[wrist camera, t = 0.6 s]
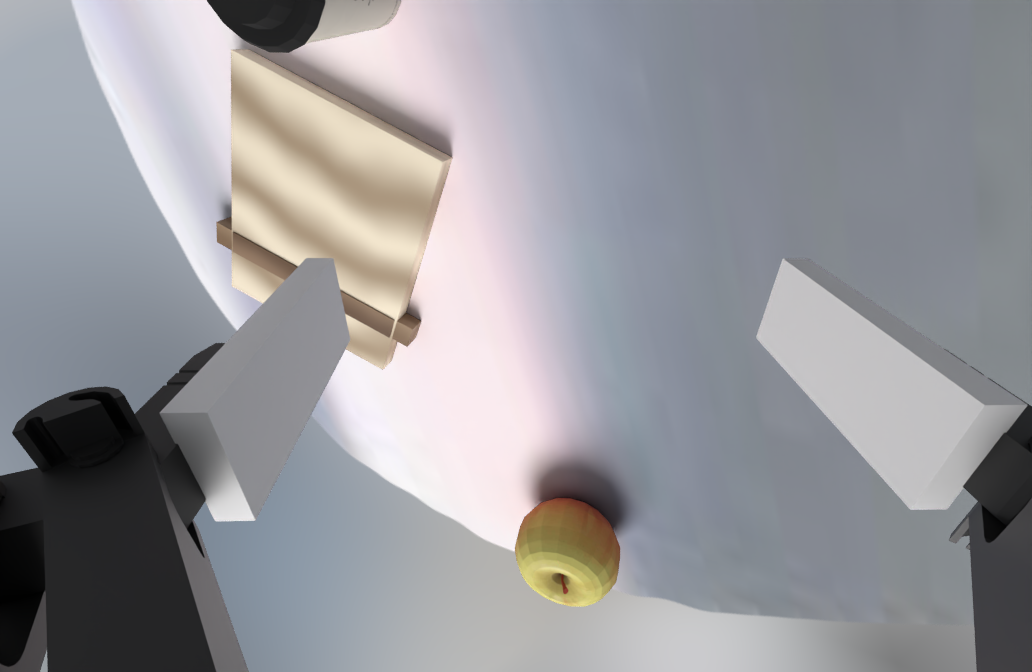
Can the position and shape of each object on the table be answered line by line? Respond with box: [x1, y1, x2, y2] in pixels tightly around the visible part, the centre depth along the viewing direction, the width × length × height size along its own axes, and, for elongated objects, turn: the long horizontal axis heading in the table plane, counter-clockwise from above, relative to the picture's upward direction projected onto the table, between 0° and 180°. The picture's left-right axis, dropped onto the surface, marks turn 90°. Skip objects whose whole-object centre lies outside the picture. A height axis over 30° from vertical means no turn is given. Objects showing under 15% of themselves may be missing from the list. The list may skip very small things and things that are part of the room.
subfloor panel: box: [217, 49, 452, 370], centre depth 36 cm, size 20×19×2 cm
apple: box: [515, 498, 620, 606], centre depth 43 cm, size 10×10×8 cm
